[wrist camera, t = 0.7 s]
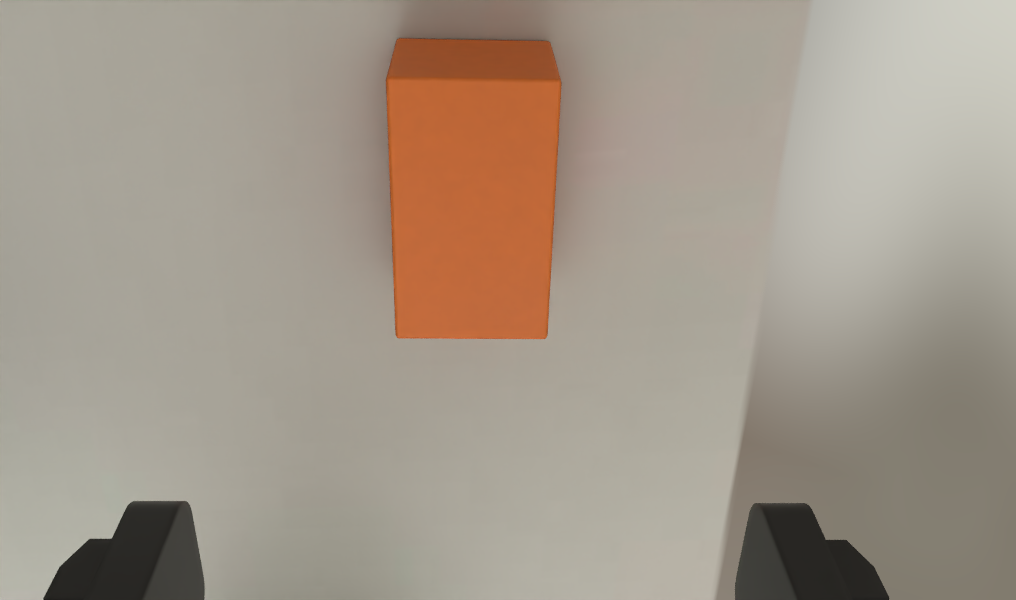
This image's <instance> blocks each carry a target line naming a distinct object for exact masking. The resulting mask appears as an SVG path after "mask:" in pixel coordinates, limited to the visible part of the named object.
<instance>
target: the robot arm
mask: <svg viewBox="0 0 1016 600" xmlns="http://www.w3.org/2000/svg"><path fill="white" fill-rule="evenodd" d="M43 599H44V600H204V577H203V571H202V565H201V560H200V554H199V549H198V543H197V538H196V532H195V527H194V521H193V516H192V511H191V507H190V505H189V503H188V502H186V501H133V502H131V503H130V504H129V505H128V506H127V508H126V510H125V512H124V514H123V516H122V518H121V520H120V523H119V525H118V527H117V529H116V531H115V533H114V535H113V538H112V539H89V540H88V541H87V542H86V543H85V544H84V545H83V546H81V547H80V548H79V549H78V550H77V551H76V552H75V553H74V554H73V555H72V556H71V557H70V558H69V559H68V560H67V561H66V562H64V563H63V564H62V565H61V566H60V567H59V569H58V571H57V573H56V575H55V577H54V579H53V581H52V583H51V585H50V587H49V589H48V591H47V593H46V595H45V597H44V598H43ZM735 600H889V596H888V594H887V592H886V590H885V588H884V586H883V584H882V582H881V580H880V578H879V576H878V574H877V572H876V570H875V568H874V566H872V565H871V564H870V563H869V562H868V561H867V560H866V559H865V558H864V557H863V556H862V555H861V554H860V553H859V552H858V551H857V550H856V549H855V548H854V547H853V546H852V545H851V544H850V543H849V542H848V541H847V540H825V537H824V535H823V533H822V531H821V528H820V526H819V524H818V522H817V520H816V517H815V515H814V513H813V511H812V509H811V508H810V506H809V505H807V504H805V503H755V504H754V505H753V506H752V507H751V510H750V513H749V518H748V522H747V527H746V532H745V537H744V542H743V547H742V552H741V557H740V562H739V567H738V571H737V577H736V583H735Z"/></svg>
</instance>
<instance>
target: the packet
mask: <svg viewBox="0 0 1016 600" xmlns="http://www.w3.org/2000/svg"><path fill="white" fill-rule="evenodd" d="M386 94H387V120H388V146H389V173H390V199H391V225H392V252H393V278H394V304H395V330H396V336H397V338H455V339H545V338H546V337H547V334H548V316H549V298H550V280H551V262H552V244H553V226H554V208H555V190H556V173H557V155H558V137H559V119H560V101H561V79H560V76H559V72H558V68H557V65H556V61H555V58H554V54H553V50H552V47H551V44H550V42H548V41H513V40H459V39H404V38H399V39H397V41H396V44H395V48H394V52H393V55H392V59H391V63H390V67H389V70H388V74H387V78H386Z"/></svg>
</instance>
